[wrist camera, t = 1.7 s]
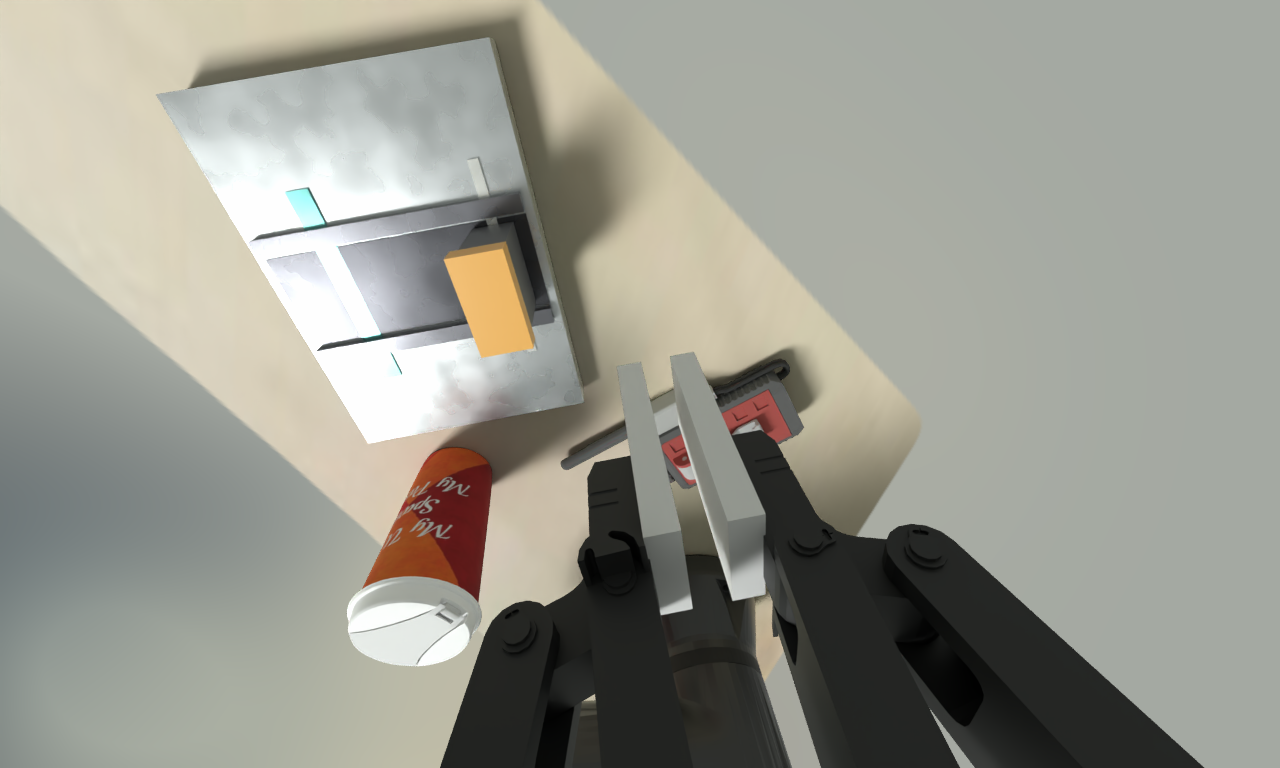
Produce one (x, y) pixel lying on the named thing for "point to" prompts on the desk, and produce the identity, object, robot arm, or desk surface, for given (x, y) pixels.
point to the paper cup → (428, 567)
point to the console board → (386, 226)
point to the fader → (494, 289)
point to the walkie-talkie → (743, 410)
